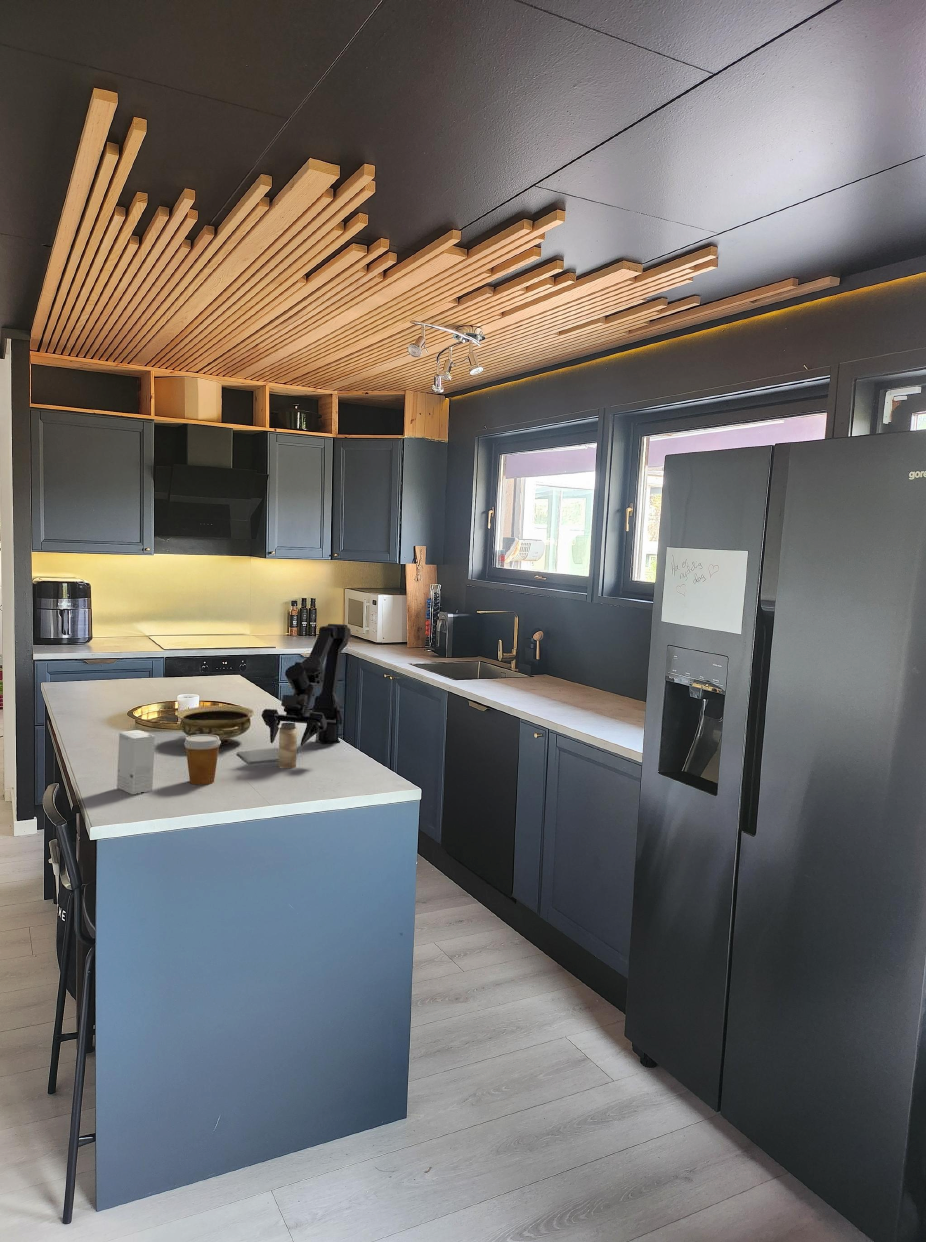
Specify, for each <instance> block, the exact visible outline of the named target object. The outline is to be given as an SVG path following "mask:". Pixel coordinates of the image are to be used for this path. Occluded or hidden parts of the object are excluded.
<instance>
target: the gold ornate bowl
mask: <svg viewBox="0 0 926 1242" xmlns="http://www.w3.org/2000/svg"><path fill="white" fill-rule="evenodd" d="M254 713H255V711H254V710H253V709H252V708H249V707H245V706H239V705H205V706H196V707H190V708H186V709H183V710H180V711H178V712H177V713H176V716H177V718H178V719H180V723H179V726H180V727H179V728H180V730H181V731H182V732H183V734H185V735H186V736H187V737H188V736H192V735H200V734H209V735H216V736H218V737H219V739H220V741H221V744H220V746H222V745H227V744H229V743H230V741H229V739H234V738H236V737H239V736H241V735H242V734H244V733H246V732H247V731H248V730H250V727H251V725H252V723H251V722H252V721H251V717H252V716H254Z"/></svg>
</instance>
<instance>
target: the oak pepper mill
mask: <svg viewBox="0 0 926 1242" xmlns="http://www.w3.org/2000/svg"><path fill="white" fill-rule="evenodd" d="M280 724H281V726H280V727H279V730H278V731H279V736H278V738H279V741H278V748H279V761H278V767H279V768H280V767H281V769H293V767H294V768H296V767H297V751H298V749H297V747H298V746H297V742H298V727H296V723H293V722H282V723H280Z"/></svg>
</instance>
